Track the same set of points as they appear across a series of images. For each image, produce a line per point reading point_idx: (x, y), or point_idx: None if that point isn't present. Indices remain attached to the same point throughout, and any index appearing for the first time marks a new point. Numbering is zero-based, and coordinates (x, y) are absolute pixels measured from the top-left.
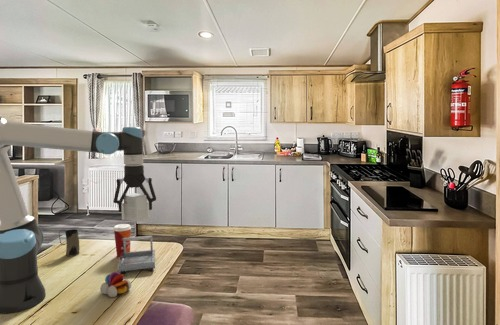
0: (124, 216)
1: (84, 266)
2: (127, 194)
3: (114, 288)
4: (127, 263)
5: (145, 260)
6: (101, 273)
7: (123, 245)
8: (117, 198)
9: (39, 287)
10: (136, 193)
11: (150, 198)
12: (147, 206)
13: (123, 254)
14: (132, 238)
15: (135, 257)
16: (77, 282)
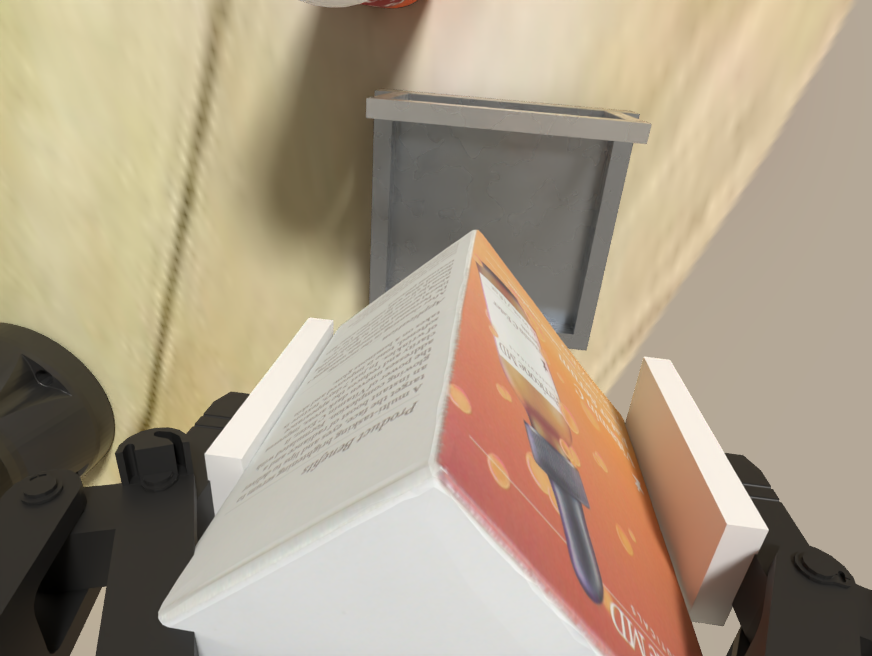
0: (325, 333)
1: (155, 89)
2: (237, 604)
3: None
4: (424, 252)
5: (539, 243)
6: (286, 244)
7: (378, 4)
8: (53, 554)
9: (67, 458)
10: (512, 582)
11: (834, 628)
12: (673, 564)
13: (390, 137)
14: (452, 124)
15: (478, 160)
16: (192, 311)
